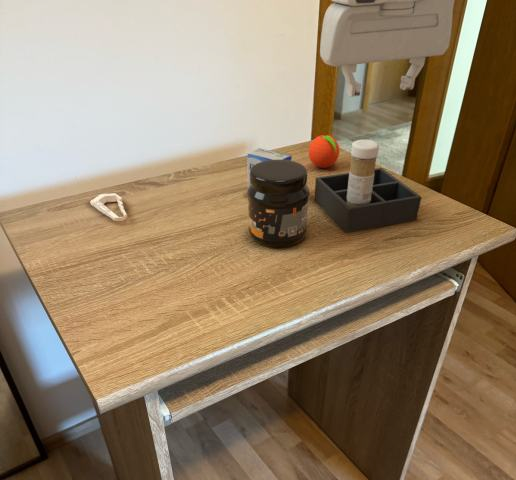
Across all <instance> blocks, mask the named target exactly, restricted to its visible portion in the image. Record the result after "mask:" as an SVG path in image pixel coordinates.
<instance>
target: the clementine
mask: <svg viewBox="0 0 516 480" xmlns="http://www.w3.org/2000/svg"><path fill="white" fill-rule="evenodd" d="M339 156H340V146H339V142H338V141H337V140H336V139H335V138H334V137H333V136H331V135H329V134H321V135H318V136H316V137H315V138H313V140H311V142H310V144H309V146H308V157H309V161H310V162H311V163H312V164H313V166H315V167H317V168H321V169H326V168H329V167H331V166H333V165H334V164H335V163H336V162H337V160H338V159H339Z"/></svg>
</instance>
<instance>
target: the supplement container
mask: <svg viewBox="0 0 516 480" xmlns="http://www.w3.org/2000/svg"><path fill="white" fill-rule="evenodd" d="M307 182H308V169H307V167H306V166H304V164H301V163H300V162H297V161H294V160H291V161H289V160H268V161H263V162H260V163H257V164H255V165H254V166H253V167H252V168H251V169H250V183H251V184H250V185H249V187H248V186H247V190H246V193H247V207H248V234H249V236H250V238H251V239H252V240H253V241H254V242H256V243H258V244H259V245H262V246H265V247H270V248H285V247H291V246H294V245H295V244H298V243H299V242H301V241H302V240H303V239H304V238H305V236H306V234H307V230H308V227H307V225H308V223H307V222H308V209H309V208H308V206H309V205H308V204H309V197H310V188H309V186H308V185H307Z"/></svg>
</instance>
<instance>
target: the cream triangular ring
mask: <svg viewBox="0 0 516 480" xmlns="http://www.w3.org/2000/svg"><path fill="white" fill-rule="evenodd" d="M113 202H117V205H118V208H119V211H120V213H121V214H122V215H123V216H118V215H117V214H116V213H115V212H113V211H112V210H111V209H110V208H109V207H107V206H106V205H105V204H106V203H113ZM89 203H90V205H91V206H92V207H94V208H95V209H96V210H98V211H99V212H100V213H102V214H103V215H105V216H107V217H109V218H110V219H111V220H112V221H114V222H122V221H125V220H126V219H127V218H128V213H127V212H126V210H125V207H124V203H123V198H122V197H121V196H120V195H118V194H117V193H115V192H114V193H100V194H99V195H97V196H96V197H95V198H92V199H91V200H90V202H89Z"/></svg>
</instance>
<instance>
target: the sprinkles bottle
mask: <svg viewBox="0 0 516 480" xmlns="http://www.w3.org/2000/svg"><path fill="white" fill-rule="evenodd" d="M379 147H380V144H379V143H378V142H377V141H375V140H372V139H357V140H355V141H353V142H352V144H351V150H350V154H351V157H350V168H349V171H348V173H349V181H348V190H347V202H346V203H347V204H348V205H349V206H350V207H354V206H360V205H366V204H370V201H371V194H372V188H373V181H374V174H375V173H374V171H375V169H376V163H377V158H378V155H379Z"/></svg>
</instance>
